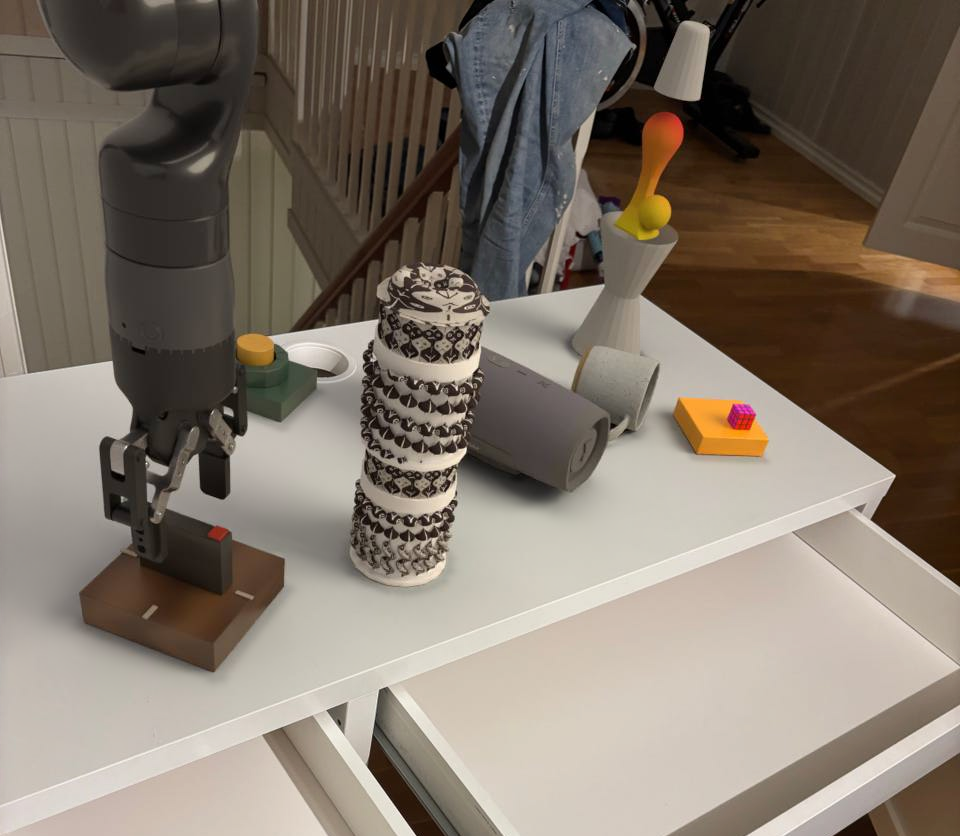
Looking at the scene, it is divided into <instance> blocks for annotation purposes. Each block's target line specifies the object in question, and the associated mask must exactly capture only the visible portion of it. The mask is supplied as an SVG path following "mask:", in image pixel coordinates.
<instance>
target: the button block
mask: <svg viewBox="0 0 960 836" xmlns="http://www.w3.org/2000/svg"><path fill="white" fill-rule="evenodd" d="M235 341H236V362H238V363H241V364H244V365H245V368H246V392H247V412H248V413H252V414H255V415H257V416H260V417H263V418H266V419H269V420H272V421H275V422H278V423H282V422H283V421H284V420H286V418H287V417H288V416H289V415H291V414H292V413H293V412H294V411H295V410H296V409H297V408H298V407H299V406H300V405H301V404H302V403H303V402H304V401H305V400H306V399H307V398H308V397H309V396H310V395H311V394H312V393H313V392H314V391H315V390H317V385H318V369H316V368H313V367H310V366H308V365H306V364H302V363H298V362H295V361H292V360H289V359H290V358H289V352H288V351H286V349H284V348H283V347H282V346H281V345H280V344H278V343H274V360H273V362H272V363H271V364H268V365H264V366H254V365H248V364H245V363H242V362H240V361H239V360H238V359H237V340H235Z"/></svg>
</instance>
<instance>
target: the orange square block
mask: <svg viewBox="0 0 960 836" xmlns="http://www.w3.org/2000/svg"><path fill="white" fill-rule="evenodd" d="M672 415H673V417H674V418H675V421H676V422H677V424H678V425H679V427H680V429H681V431H682V433H684V435H685V437H686V439H687V440H688V442H689V443H690V445H691V447H692V448H693V450H694V452H695V454H696V455H716V456H717V455H719V456H745V457H746V456H747V457H748V456H749V457H750V456H751V457H762V456H763V455H764V453H765V450H766V448H767V446H768V444H769V441H770V438H769V437H768V435H767V434H766V432H765V431H764V430H763V428H762V426H761V425H760V424H759V423H758V421H757V420H756V419H755V418H756V416H757V413H756V412H755V410H754V409H753V408H752V406H751V404H745V402H744V401H743V400H742V399H741V400H740V399H739V400H738V399H722V398H721V399H720V398H719V399H718V398H698V397H678V398H677V401H676V404H675V406H674V410H673V412H672Z"/></svg>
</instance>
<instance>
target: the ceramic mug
mask: <svg viewBox="0 0 960 836" xmlns="http://www.w3.org/2000/svg"><path fill="white" fill-rule="evenodd" d="M580 357H581V358H580V360H579V362H578V365H577V367H576V369H575V372H574V373H575V374H574V375H573V379H572V382H571V388H570V390H571V391H572V392H574V393H576V394H578V395H580V396H582V397H584V398H585V399H587V400H589V401H591V402H592V403H594V404H595V405H597V406H598V407H600V408H601V409H603V410H604V411H606V412H607V413H609V414H610V419H611V424H613V425H615V427H614V428H611V429H610V435H609V440H608V443H609V442H612V441H613V440H615V439H617V438H618V437H619V436H620V435H621V434H622V433H623V432H624V430H626V429H627V430H630V431H633V432H637V431H639V429H640V427H641V426H642V424H643V422H644V420H645V418H646V415H647V413H648V411H649V408H650V406H651V403H652V401H653V397H654V394H655V390H656V387H657V383H658V379H659V376H660V372H661V361H660V360H659V359H657V358H653V357H648V356H644V355H641V354H640V355H636V354H632V353H628V352H624V351H620V350H616V349H613V348H609V347H604V346H591V347H589V348H588V349H587V350H586V351H585V352H584V354H583V355H582V356H580Z"/></svg>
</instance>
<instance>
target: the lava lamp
mask: <svg viewBox="0 0 960 836" xmlns="http://www.w3.org/2000/svg"><path fill="white" fill-rule="evenodd" d="M710 35H711V31H710V28H709V27H708V25H705V24H703V23H701V22H698V21H693V20H684V21H682V22H681V23H680V24H679V25H678V27H677V30H676V32H675V35H674V37H673V39H672V42H671V44H670V47H669V49H668V51H667V53H666V56H665V58H664V61H663V64H662V66H661V68H660V71H659V74H658V76H657V78H656V81H655V83H654V86H653V89H654V90H655V91H656V92H657V93H659V94H661V95H663V96H666V97H668V98H672V99H674V100H676V99H677V100H679V101H680V100H681V101H687V102H696V101H700V100H701V95H702V89H703V81H704V77H705V76H704V75H705V68H706V62H707V56H708V49H709V43H710V37H711V36H710ZM641 133H642V135H641V146H642V149H641V152H642V154H641V155H642V156H641V157H642V161H641V162H642V163H641V171H640V175H639V178H638V183H637V186H636V189H635V191H634V193H633V195H632V198H631V200H630V202H629V204H627V207H626V208H625V209H624V210H620V211H619V210H618V211H617V210H616V211H609V212H607V213H604V214H602V216H601V217H600V235H601V252H602V266H603V280H604V287H603V288H602V290H601V292H600V293H599V295H598V297H597V298H596V300H595V302H594V303H593V305H592V307H591V308H590V310H589V311H588V313H587V315H586V316H585V318H584V320H583V321H582V323H581V325H580V326H579V327H578V329H577V331H576V333H575V334H574V336H573V337H572V339H571V347H572V348H573V349H574V352H576V353H577V354H578V355H579V356H580V357H582V355H583V354H584V352H585V351H586V350H587V349H588V348H589V347H591V346H604V347H609V348H613V349H616V350H620V351H624V352H628V353H632V354H636V355H640V356H641V315H640V314H641V307H640V306H641V305H640V304H641V303H640V296H641V295H642V293H643V292H644V290H645V289H646V287H647V286H648V284H649V283H650V281H651V280H652V278H653V277H654V276H655V274H656V273H657V271H658V270H659V268H660V267H661V266H662V264H663V263H664V261H665V260H666V258H667V257H668V255H669V254H670V253H671V252H672V250H673V248H674V247H675V246H676V244H677V243H678V240H679V233H678V231H677V230H676V229H675V228H674V227H673V226H671V225H670V224H668V223H669V221H670V219H671V217H672V207H671V204H670V201H669V200H668V199H667V198H666V197H664V196H662V195H660V194H655V191H656V188H657V186H658V182H659V179H660V177H661V175H662V174H663V172H664V170H665V168H666V166H667V165H668V163H669V161H670V160H671V159H672V158H673V156H674V155H675V154H676V152H677V151H678V149H679V148H680V146H681V145H682V142H683V140H684V126H683V124H682V121H681V119H680V118H679V117H678V116H677V115H676V114H674V113H672V112H670V111H669V112H668V111H660V112H657V113H655V114H653V115H652V116H651V117H649V118H648V120H647V121H646V122H645V123H644V126H643V128H642V132H641Z"/></svg>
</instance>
